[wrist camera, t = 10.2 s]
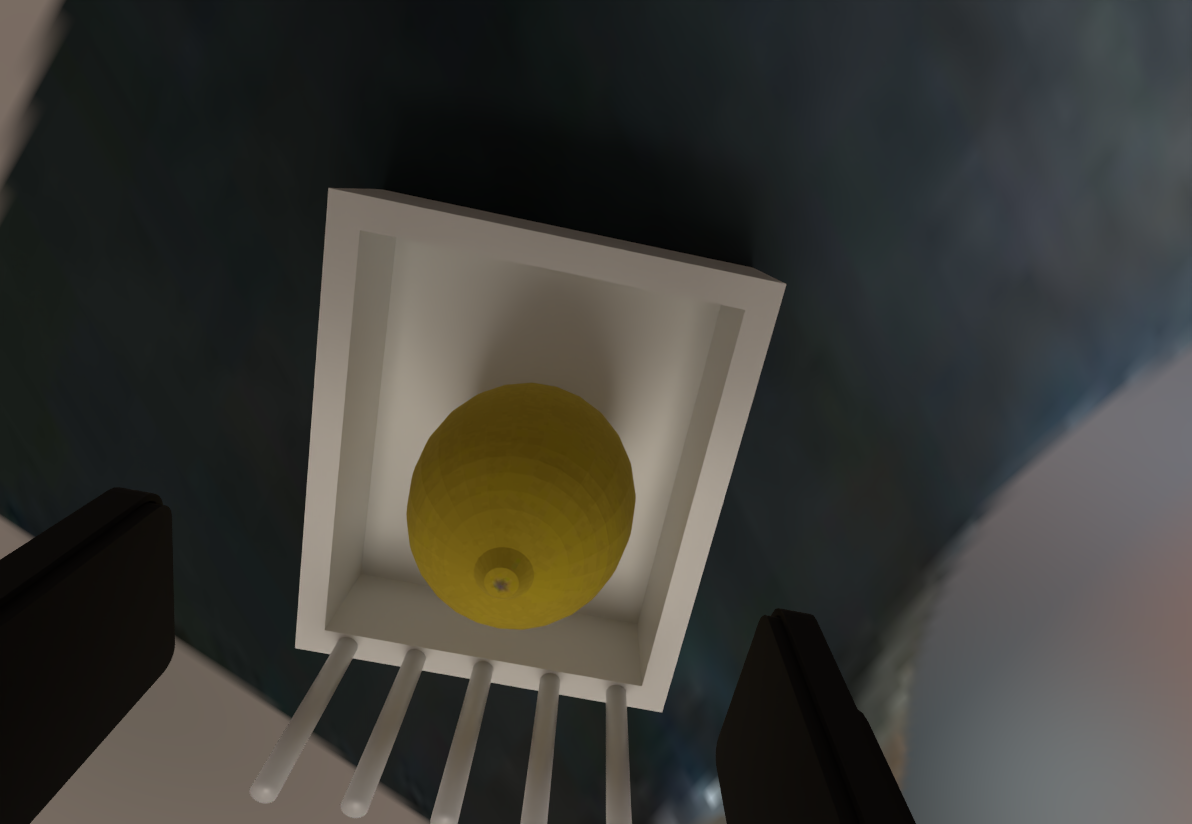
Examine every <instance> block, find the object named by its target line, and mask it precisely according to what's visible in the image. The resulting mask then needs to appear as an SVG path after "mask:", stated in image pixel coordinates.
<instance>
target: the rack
mask: <svg viewBox="0 0 1192 824" xmlns="http://www.w3.org/2000/svg"><path fill="white" fill-rule="evenodd" d="M785 287H786V284H785V283H783V282H781V281H779V280H777V279H775V278H773V277H771V276H769V275H767V274H765V273H763V272H761V271H759V270H757V269H755V268H752V267H747V266H743V265H738V264H733V263H728V262H724V261H719V260H714V259H709V258H705V257H700V256H695V255H691V254H686V253H681V252H676V251H672V250H667V249H662V248H657V247H653V246H648V245H643V244H638V243H634V242H629V241H624V240H619V239H615V238H610V237H605V236H600V235H596V234H591V233H586V232H581V231H577V230H572V229H567V228H562V227H558V226H553V225H548V224H543V223H539V222H534V221H529V220H525V219H520V218H515V217H510V216H506V215H501V214H496V213H491V212H487V211H482V210H477V209H472V208H468V207H463V206H458V205H453V204H449V203H444V202H439V201H434V200H430V199H425V198H420V197H415V196H411V195H406V194H401V193H396V192H392V191H387V190H382V189H352V188H328V202H327V216H326V229H325V243H324V257H323V271H322V285H321V298H320V312H319V326H318V340H317V353H316V367H315V381H314V395H313V409H312V422H311V436H310V450H309V464H308V477H307V491H306V505H305V519H304V533H303V546H302V560H301V574H300V588H299V601H298V615H297V629H296V643H295V648H298V649H303V650H309V651H315V652H320V653H326V654H330V656H329V657H328V659H327V661H326V662H325V664H324V666H323V667H322V669H321V671H320V672H319V674H318V676H317V677H316V679H315V681H314V682H313V684H312V686H311V687H310V689H309V691H308V692H307V694H306V696H305V697H304V699H303V701H302V702H301V704H300V706H299V707H298V709H297V711H296V712H295V714H294V716H293V717H292V719H291V721H290V722H289V724H288V726H287V727H286V729H285V731H284V732H283V734H282V736H281V738H280V739H279V741H278V743H277V744H276V746H275V748H274V749H273V751H272V753H271V754H270V756H269V758H268V759H267V761H266V763H265V764H264V766H263V768H262V769H261V771H260V773H259V774H258V776H257V778H256V779H255V781H254V783H253V784H252V786H251V788H250V795H251V796H252V798H253V799H254V800H256V801H258V802H260V803H271V802H273V801H274V800H275V799H276V798H277V796H278V794H279V792H280V790H281V789H282V787H283V785H284V783H285V781H286V779H287V778H288V776H289V774H290V772H291V770H292V768H293V767H294V764H295V763H296V761H297V759H298V757H299V756H300V753H301V752H302V750H303V748H304V746H305V744H306V743H307V741H308V739H309V737H310V735H311V734H312V732H313V730H314V728H315V726H316V724H317V723H318V721H319V719H320V717H321V715H322V713H323V712H324V710H325V708H326V706H327V704H328V702H329V701H330V699H331V697H332V695H333V693H334V691H335V690H336V688H337V686H338V684H339V682H340V680H341V679H342V677H343V675H344V673H345V671H346V669H347V668H348V666H349V664H350V662H351V660H352V658H355V659H360V660H366V661H372V662H377V663H383V664H389V665H395V666H400V669H399V672H398V674H397V676H396V678H395V681H394V683H393V685H392V688H391V690H390V692H389V695H388V697H387V699H386V701H385V704H384V706H383V708H382V711H381V713H380V715H379V718H378V720H377V722H376V725H375V727H374V729H373V731H372V734H371V736H370V738H369V741H368V743H367V745H366V748H365V750H364V752H363V754H362V757H361V759H360V761H359V764H358V766H357V768H356V771H355V773H354V775H353V778H352V780H351V782H350V784H349V787H348V789H347V791H346V794H345V796H344V798H343V801H342V803H341V810H342V812H343V813H344V814H345V815H347V816H349V817H351V818H360V817H363V816H364V815H366V813H367V811H368V809H369V806H370V803H371V801H372V798H373V796H374V793H375V791H376V788H377V785H378V783H379V780H380V778H381V775H382V772H383V770H384V767H385V765H386V762H387V759H388V757H389V754H390V752H391V749H392V746H393V744H394V741H395V739H396V736H397V734H398V731H399V728H400V726H401V723H402V721H403V718H404V715H405V713H406V710H407V708H408V705H409V702H410V700H411V697H412V695H413V692H414V689H415V687H416V684H417V682H418V679H419V676H420V674H421V671H422V670H423V671H429V672H435V673H440V674H446V675H452V676H457V677H463V678H469V679H470V681H469V684H468V688H467V691H466V695H465V698H464V702H463V706H462V709H461V713H460V716H459V720H458V724H457V727H456V731H455V734H454V738H453V741H452V745H451V749H450V752H449V756H448V759H447V763H446V766H445V770H444V774H443V777H442V781H441V784H440V788H439V791H438V795H437V799H436V802H435V806H434V809H433V813H432V817H431V820H430V823H431V824H457V823H458V819H459V815H460V811H461V806H462V802H463V798H464V794H465V789H466V785H467V781H468V777H469V772H470V768H471V764H472V760H473V755H474V751H475V747H476V742H477V738H478V734H479V730H480V725H481V721H482V717H483V713H484V708H485V704H486V700H487V696H488V691H489V687H490V683H491V682H492V683H497V684H503V685H509V686H514V687H520V688H526V689H532V690H537V691H538V698H537V705H536V713H535V720H534V728H533V735H532V742H531V750H530V757H529V765H528V772H527V780H526V787H525V794H524V802H523V809H522V817H521V824H547V817H548V806H549V796H550V785H551V774H552V763H553V753H554V742H555V731H556V720H557V709H558V699H559V694H560V695H566V696H572V697H577V698H583V699H589V700H594V701H600V702H606V824H632V821H631V797H630V774H629V750H628V726H627V706H629V707H634V708H640V709H646V710H651V711H657V712H662V711H663V708H664V704H665V701H666V697H667V694H668V690H669V687H670V683H671V680H672V677H673V673H674V670H675V666H676V663H677V659H678V656H679V652H680V649H681V646H682V642H683V639H684V635H685V632H686V628H687V625H688V621H689V618H690V615H691V611H692V608H693V604H694V601H695V597H696V594H697V590H698V587H699V584H700V580H701V577H702V573H703V570H704V566H705V563H706V559H707V556H708V553H709V549H710V546H711V542H712V539H713V535H714V532H715V528H716V525H717V522H718V518H719V515H720V511H721V508H722V504H723V501H724V497H725V494H726V491H727V487H728V484H729V480H730V477H731V473H732V470H733V467H734V463H735V460H736V456H737V453H738V449H739V446H740V442H741V439H742V436H743V432H744V429H745V425H746V422H747V418H748V415H749V411H750V408H751V405H752V401H753V398H754V394H755V391H756V387H757V384H758V380H759V377H760V374H761V370H762V367H763V363H764V360H765V356H766V353H767V349H768V346H769V343H770V339H771V336H772V332H773V329H774V325H775V322H776V318H777V315H778V312H779V308H780V305H781V301H782V298H783V294H784V291H785ZM520 383H538V384H544V385H550V386H556V387H559V388H561V389H563V390H566V391H568V392H570V393H573V394H575V395H577V396H580V397H581V398H582V399H584V400H585V401H586V402H588V403H589V404H590V405H592V406H593V407H594V408H596V409H597V410H598V411H600V412H601V413H602V414H603V416H604V417H605V418H606V419H607V421H608V422H609V423H610V424H611V426H612V427H613V428H614V430H615V431H616V432H617V434H618V435H619V437H620V439H621V441H622V444H623V446H624V448H625V451H626V453H627V455H628V457H629V460H630V463H631V467H632V474H633V480H634V487H635V494H636V502H635V509H634V516H633V523H632V530H631V535H630V538H629V541H628V543H627V545H626V548H625V550H624V552H623V555H622V557H621V559H620V561H619V564H618V566H617V568H616V570H615V572H614V573H613V575H612V577H611V578H610V579H609V580H608V582H607V583H606V584H605V585H604V587H603V588H602V589H601V590H600V592H599V593H598V594H597V595H596V596H595V597H594V598H593V599H592V600H591V601H590V602H589V603H587V604H586V605H584V606H583V607H582V608H580V609H579V610H578V611H576V612H575V613H574V614H572V615H570V616H568V617H565V618H563V619H560V620H558V621H556V622H553V623H551V624H549V625H546V626H541V627H535V628H530V629H524V630H518V629H499V628H495V627H491V626H488V625H484V624H480V623H476V622H475V621H473V620H471V619H469V618H467V617H465V616H463V615H461V614H459V613H457V612H455V611H454V610H453V609H452V608H450V607H449V606H448V605H447V604H446V603H444V602H443V601H442V600H441V599H440V598H438V596H437V595H436V594H435V593H434V591H433V590H432V589H431V587H430V586H429V585H428V583H427V582H426V581H425V579H424V578H423V577H422V575H421V574H420V571H419V569H418V566H417V564H416V561H415V559H414V557H413V554H412V552H411V548H410V544H409V536H408V527H407V516H406V512H407V503H408V497H409V491H410V485H411V479H412V475H413V471H414V469H415V466H416V464H417V462H418V460H419V457H420V455H421V453H422V451H423V449H424V447H425V445H426V443H427V441H428V439H429V437H430V436H431V435H432V434H433V432H434V431H435V430H436V429H437V428H438V427H439V426H440V424H441V423H442V422H443V421H444V420H445V419H446V418H447V416H448V415H449V414H450V413H451V412H452V411H453V410H455V409H456V408H458V407H459V406H461V405H462V404H464V403H465V402H467V401H468V400H470V399H471V398H473V397H474V396H476V395H478V394H480V393H482V392H485V391H488V390H491V389H494V388H497V387H500V386H503V385H507V384H520Z"/></svg>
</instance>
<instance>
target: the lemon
mask: <svg viewBox="0 0 1192 824" xmlns="http://www.w3.org/2000/svg"><path fill="white" fill-rule="evenodd" d="M635 502H636V494H635V487H634V480H633V474H632V467H631V463H630V460H629V457H628V455H627V453H626V451H625V448H624V446H623V444H622V441H621V439H620V437H619V435H618V434H617V432H616V431H615V430H614V428H613V427H612V426H611V424H610V423H609V422H608V421H607V419H606V418H605V417H604V416H603V414H602V413H601V412H600V411H598V410H597V409H596V408H594V407H593V406H592V405H590V404H589V403H588V402H586V401H585V400H584V399H582V398H581V397H580V396H577V395H575V394H573V393H570V392H568V391H566V390H563V389H561V388H559V387H556V386H550V385H544V384H538V383H520V384H507V385H503V386H500V387H497V388H494V389H491V390H488V391H485V392H482V393H480V394H478V395H476V396H474V397H473V398H471V399H470V400H468V401H467V402H465V403H464V404H462V405H461V406H459V407H458V408H456V409H455V410H453V411H452V412H451V413H450V414H449V415H448V416H447V418H446V419H445V420H444V421H443V422H442V423H441V424H440V426H439V427H438V428H437V429H436V430H435V431H434V432H433V434H432V435H431V436H430V437H429V439H428V441H427V443H426V445H425V447H424V449H423V451H422V453H421V455H420V457H419V460H418V462H417V464H416V466H415V469H414V471H413V475H412V479H411V485H410V491H409V497H408V503H407V512H406V516H407V527H408V536H409V544H410V548H411V552H412V554H413V557H414V559H415V561H416V564H417V566H418V569H419V571H420V574H421V575H422V577H423V578H424V579H425V581H426V582H427V583H428V585H429V586H430V587H431V589H432V590H433V591H434V593H435V594H436V595H437V596H438V598H440V599H441V600H442V601H443V602H444V603H446V604H447V605H448V606H449V607H450V608H452V609H453V610H454V611H455V612H457V613H459V614H461V615H463V616H465V617H467V618H469V619H471V620H473V621H475V622H476V623H480V624H484V625H488V626H491V627H495V628H499V629H518V630H524V629H530V628H535V627H541V626H546V625H549V624H551V623H553V622H556V621H558V620H560V619H563V618H565V617H568V616H570V615H572V614H574V613H575V612H576V611H578V610H579V609H580V608H582V607H583V606H584V605H586V604H587V603H589V602H590V601H591V600H592V599H593V598H594V597H595V596H596V595H597V594H598V593H599V592H600V590H601V589H602V588H603V587H604V585H605V584H606V583H607V582H608V580H609V579H610V578H611V577H612V575H613V573H614V572H615V570H616V568H617V566H618V564H619V561H620V559H621V557H622V555H623V552H624V550H625V548H626V545H627V543H628V541H629V538H630V535H631V530H632V523H633V516H634V509H635Z"/></svg>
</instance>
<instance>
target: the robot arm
mask: <svg viewBox="0 0 1192 824" xmlns="http://www.w3.org/2000/svg"><path fill="white" fill-rule="evenodd" d="M174 648H175V632H174V589H173V547H172V514H171V510H170V508H169V507H167V506H165V505H163V503H162V500H161V498H160V496H158V495H156V494H153V493H148V492H142V491H137V490H131V489H126V488H120V487H118V488H112V489H110V490H108V491H106V492H105V493H103V494H102V495H100V496H99V497H97V498H96V499H94V500H92V501H91V502H89V503H88V504H86V505H85V506H83V507H82V508H80V509H78V510H77V511H75V512H74V513H72V514H71V515H69V516H68V517H66V518H64V519H63V520H61V521H60V522H58V523H57V524H55V525H54V526H52V527H50V528H49V529H47V530H46V531H44V532H43V533H41V534H40V535H38V536H36V537H35V538H33V539H32V540H30V541H29V542H27V543H26V544H24V545H23V546H21V547H19V548H18V549H16V550H15V551H13V552H12V553H10V554H8V555H7V556H5V557H4V558H2V559H1V560H0V824H30V823H31V822H32V821H33V819H34V818H35V817H36V816H37V815H38V814H39V813H40V811H41V810H42V809H43V808H44V807H45V806H46V805H47V804H48V802H49V801H50V800H51V799H52V798H53V797H54V796H55V795H56V793H57V792H58V791H59V790H60V789H61V788H62V787H63V785H64V784H65V783H66V782H67V781H68V779H70V777H71V776H72V775H73V774H74V773H75V772H76V771H77V769H78V768H79V767H80V766H81V765H82V764H83V763H84V762H85V760H86V759H87V758H88V757H89V756H90V755H91V754H92V752H94V750H95V749H96V748H97V747H98V746H99V745H100V744H101V742H102V741H103V740H104V739H105V738H106V737H107V736H108V734H109V733H110V732H111V731H112V730H113V729H114V728H115V726H116V725H117V724H118V723H119V722H120V721H121V720H122V718H123V717H124V716H125V715H126V714H127V713H128V712H129V711H130V710H131V709H132V707H133V706H134V705H135V704H136V703H137V702H138V701H139V699H140V698H141V697H142V696H143V695H144V694H145V693H146V692H147V690H148V689H149V688H150V687H151V686H152V685H153V684H154V682H155V681H156V680H157V679H158V678H159V677H160V676H161V675H162V673H163V672H164V671H165V670H166V668H167V666H168V665H169V663H170V661H171V658H172V656H173V653H174ZM716 766H717V772H718V777H719V783H720V788H721V794H722V800H723V805H724V811H725V816H726V822H727V824H916V823H915V821H914V819H913V817H912V814H911V812H910V810H909V808H908V806H907V804H906V802H905V799H904V797H903V795H902V793H901V791H900V789H899V787H898V784H897V782H896V780H895V778H894V776H893V774H892V772H891V769H890V767H889V765H888V763H887V761H886V759H885V757H884V755H883V752H882V750H881V748H880V746H879V744H878V742H877V740H876V737H875V735H874V733H873V731H872V729H871V727H870V725H869V723H868V721H867V719H866V718H865V716H864V714H863V713H862V712H860V711H859V710H858V709H857V707H856V705H855V703H854V701H853V699H852V696H851V694H850V692H849V690H848V688H847V686H846V683H845V681H844V679H843V677H842V675H841V672H840V670H839V668H838V666H837V664H836V662H835V659H834V657H833V655H832V653H831V651H830V649H829V646H828V644H827V642H826V640H825V638H824V635H823V633H822V631H821V629H820V627H819V625H818V622H817V620H816V619H815V617H814V616H813V615H811V614H807V613H801V612H796V611H790V610H785V609H779V608H778V609H775V610H774V612H773V613H772V615H771V616H767V615H764V616H762V617H761V619H760V621H759V623H758V626H757V629H756V632H755V635H754V638H753V640H752V643H751V646H750V649H749V652H748V655H747V658H746V660H745V663H744V666H743V669H742V672H741V675H740V678H739V681H738V683H737V686H736V689H735V692H734V695H733V698H732V701H731V703H730V706H729V709H728V712H727V715H726V718H725V721H724V724H723V726H722V729H721V732H720V735H719V738H718V742H717V747H716Z"/></svg>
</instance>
